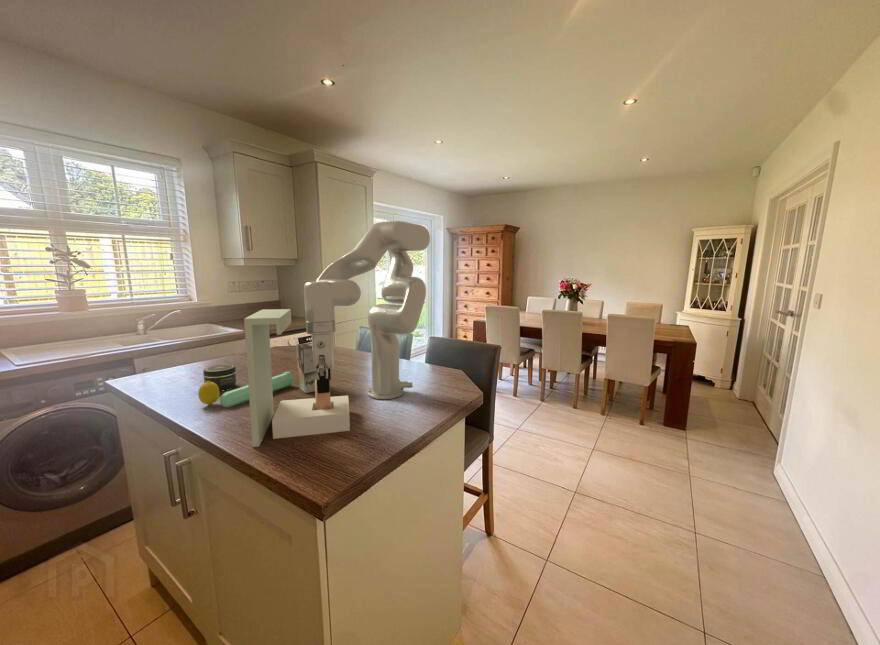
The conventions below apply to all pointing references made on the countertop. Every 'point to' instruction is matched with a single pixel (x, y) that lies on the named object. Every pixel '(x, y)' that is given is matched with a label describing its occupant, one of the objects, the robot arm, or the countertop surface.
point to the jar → (221, 376)
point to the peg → (322, 399)
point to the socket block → (310, 417)
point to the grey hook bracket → (261, 366)
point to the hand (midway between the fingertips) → (324, 386)
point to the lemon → (208, 393)
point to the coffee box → (306, 368)
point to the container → (243, 392)
